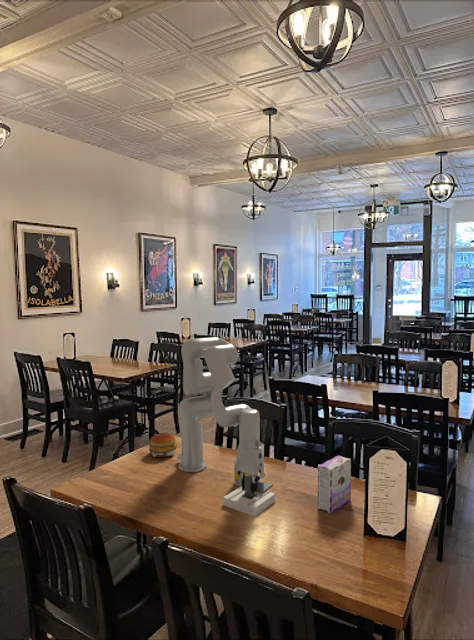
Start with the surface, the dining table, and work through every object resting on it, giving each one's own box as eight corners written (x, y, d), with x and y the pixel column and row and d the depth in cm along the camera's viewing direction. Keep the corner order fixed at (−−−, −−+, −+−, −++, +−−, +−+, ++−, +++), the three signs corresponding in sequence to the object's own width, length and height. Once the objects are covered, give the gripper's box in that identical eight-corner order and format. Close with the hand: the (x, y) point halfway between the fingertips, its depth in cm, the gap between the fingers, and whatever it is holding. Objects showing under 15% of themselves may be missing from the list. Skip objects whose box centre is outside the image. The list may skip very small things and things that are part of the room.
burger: (163, 447, 224) (162, 427, 223) (183, 452, 216) (182, 432, 216) (143, 455, 213) (142, 435, 213) (163, 461, 205) (163, 440, 205)
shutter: (248, 488, 171) (248, 478, 170) (258, 481, 176) (258, 472, 176) (262, 493, 167) (262, 483, 166) (272, 486, 172) (272, 476, 172)
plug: (242, 498, 165) (242, 472, 164) (248, 494, 168) (248, 469, 167) (250, 501, 163) (250, 475, 162) (256, 497, 166) (256, 471, 165)
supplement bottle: (251, 480, 185) (251, 450, 184) (250, 487, 179) (250, 456, 178) (235, 479, 186) (235, 449, 185) (233, 486, 180) (233, 455, 179)
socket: (223, 505, 164) (223, 496, 164) (245, 491, 176) (245, 483, 175) (254, 516, 156) (254, 507, 156) (275, 501, 167) (275, 492, 167)
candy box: (337, 495, 171) (338, 454, 170) (351, 501, 167) (351, 458, 166) (316, 508, 162) (317, 464, 161) (330, 514, 158) (331, 469, 156)
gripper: (273, 444, 162) (273, 492, 163) (237, 435, 172) (237, 481, 173) (262, 450, 156) (262, 500, 157) (225, 440, 166) (225, 488, 167)
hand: (249, 490), depth 165 cm, fingers closed on plug, 3 cm apart
